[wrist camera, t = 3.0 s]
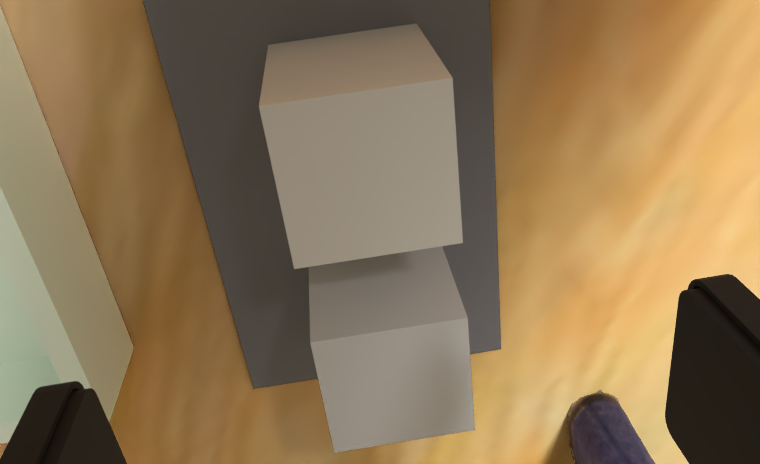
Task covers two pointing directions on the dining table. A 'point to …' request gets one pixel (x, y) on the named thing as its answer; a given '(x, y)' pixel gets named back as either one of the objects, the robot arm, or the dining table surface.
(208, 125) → the mat
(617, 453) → the flask
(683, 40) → the dining table surface
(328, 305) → the grey block
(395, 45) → the stone
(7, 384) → the bin
